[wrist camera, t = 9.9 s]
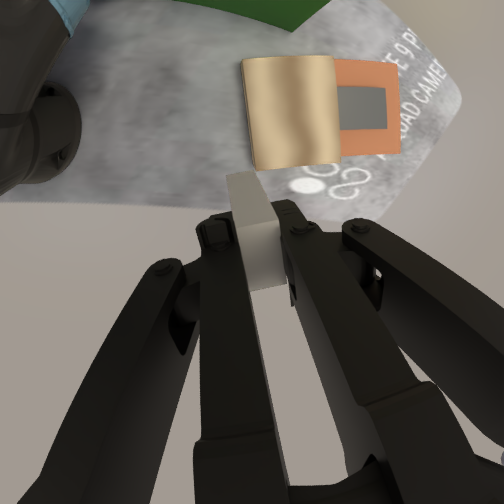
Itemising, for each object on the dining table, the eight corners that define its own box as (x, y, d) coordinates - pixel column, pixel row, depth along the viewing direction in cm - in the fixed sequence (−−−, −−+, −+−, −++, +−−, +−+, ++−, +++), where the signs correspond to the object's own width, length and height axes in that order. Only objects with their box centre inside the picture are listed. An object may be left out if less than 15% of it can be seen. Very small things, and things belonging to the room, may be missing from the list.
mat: (334, 156, 39) (335, 156, 39) (326, 59, 33) (327, 59, 32) (399, 152, 40) (400, 153, 39) (395, 64, 33) (397, 64, 32)
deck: (253, 164, 39) (256, 171, 36) (240, 63, 32) (242, 59, 29) (330, 156, 39) (341, 162, 36) (323, 59, 33) (333, 55, 29)
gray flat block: (331, 129, 37) (335, 130, 36) (328, 86, 34) (332, 86, 33) (382, 127, 37) (387, 129, 36) (379, 87, 34) (385, 87, 33)
